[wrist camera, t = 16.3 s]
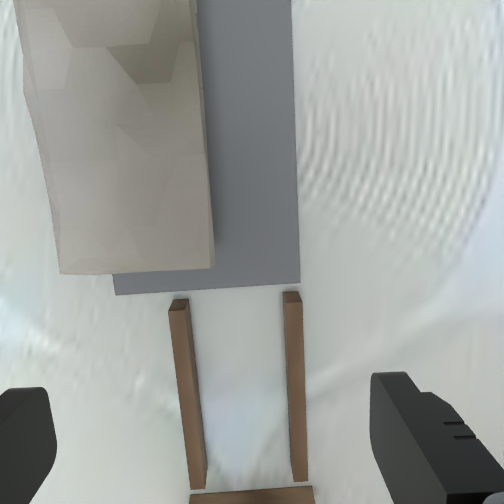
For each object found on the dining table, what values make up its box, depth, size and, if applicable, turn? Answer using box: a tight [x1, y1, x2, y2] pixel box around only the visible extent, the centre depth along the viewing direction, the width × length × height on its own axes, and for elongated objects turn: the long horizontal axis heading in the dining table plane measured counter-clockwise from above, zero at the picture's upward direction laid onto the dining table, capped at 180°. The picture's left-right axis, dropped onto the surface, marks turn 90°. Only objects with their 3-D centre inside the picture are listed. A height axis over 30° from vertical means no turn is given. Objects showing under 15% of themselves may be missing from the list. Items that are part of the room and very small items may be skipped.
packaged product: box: [13, 0, 216, 275], centre depth 24 cm, size 18×5×10 cm
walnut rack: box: [168, 292, 315, 504], centre depth 26 cm, size 11×20×14 cm, turn 4°
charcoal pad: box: [112, 0, 300, 295], centre depth 27 cm, size 14×24×1 cm, turn 4°
